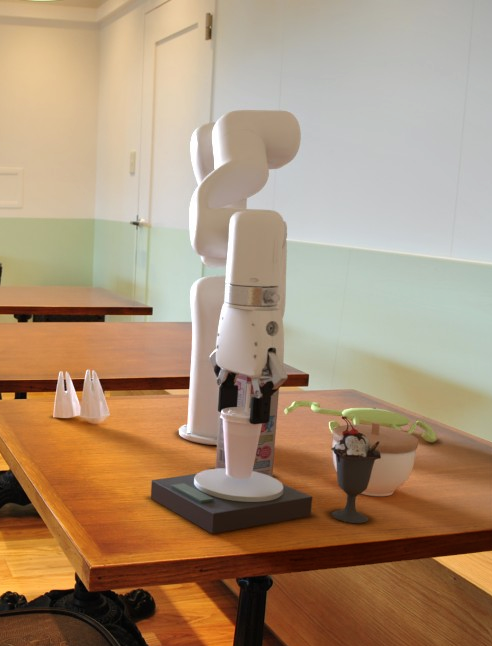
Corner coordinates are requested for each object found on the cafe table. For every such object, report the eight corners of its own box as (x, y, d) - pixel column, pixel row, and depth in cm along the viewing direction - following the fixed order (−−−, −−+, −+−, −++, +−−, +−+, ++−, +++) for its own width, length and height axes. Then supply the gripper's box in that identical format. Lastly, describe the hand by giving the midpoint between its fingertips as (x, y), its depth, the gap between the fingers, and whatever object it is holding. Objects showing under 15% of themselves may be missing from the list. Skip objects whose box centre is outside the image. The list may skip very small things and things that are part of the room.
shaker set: (111, 423, 171) (113, 370, 169) (100, 427, 168) (102, 374, 166) (62, 413, 178) (64, 363, 176) (51, 417, 175) (53, 365, 173)
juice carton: (215, 469, 143) (223, 343, 139) (246, 465, 145) (255, 341, 142) (240, 481, 137) (249, 349, 133) (272, 476, 139) (282, 347, 136)
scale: (242, 484, 135) (244, 461, 135) (310, 516, 122) (313, 491, 121) (150, 498, 128) (151, 475, 127) (212, 534, 115) (214, 508, 114)
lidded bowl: (406, 508, 126) (414, 438, 124) (320, 491, 133) (326, 425, 131) (417, 485, 137) (424, 420, 135) (336, 471, 143) (342, 409, 141)
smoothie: (262, 483, 121) (269, 389, 119) (217, 479, 122) (223, 386, 120) (258, 469, 127) (265, 380, 125) (216, 466, 129) (221, 377, 126)
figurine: (273, 424, 174) (275, 397, 173) (387, 419, 179) (389, 394, 178) (323, 449, 156) (325, 420, 155) (447, 444, 161) (450, 416, 160)
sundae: (317, 509, 125) (325, 412, 122) (360, 508, 126) (369, 412, 123) (337, 526, 118) (346, 424, 116) (382, 525, 119) (392, 424, 117)
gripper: (315, 303, 114) (304, 429, 117) (232, 290, 130) (225, 402, 133) (273, 305, 111) (263, 435, 114) (193, 291, 127) (186, 406, 130)
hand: (242, 416), depth 123 cm, fingers closed on smoothie, 6 cm apart
